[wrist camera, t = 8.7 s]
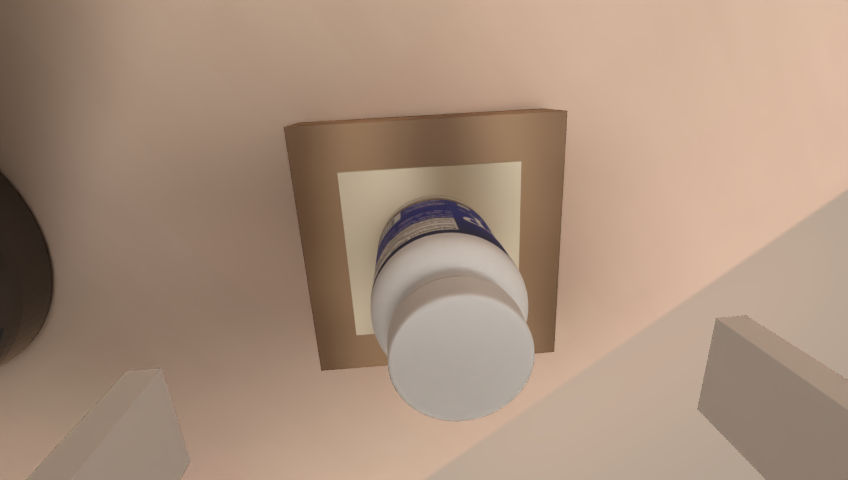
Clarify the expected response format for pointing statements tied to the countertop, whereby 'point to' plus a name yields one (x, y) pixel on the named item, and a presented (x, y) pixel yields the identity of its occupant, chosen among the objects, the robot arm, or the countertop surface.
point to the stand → (414, 179)
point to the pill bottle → (450, 311)
